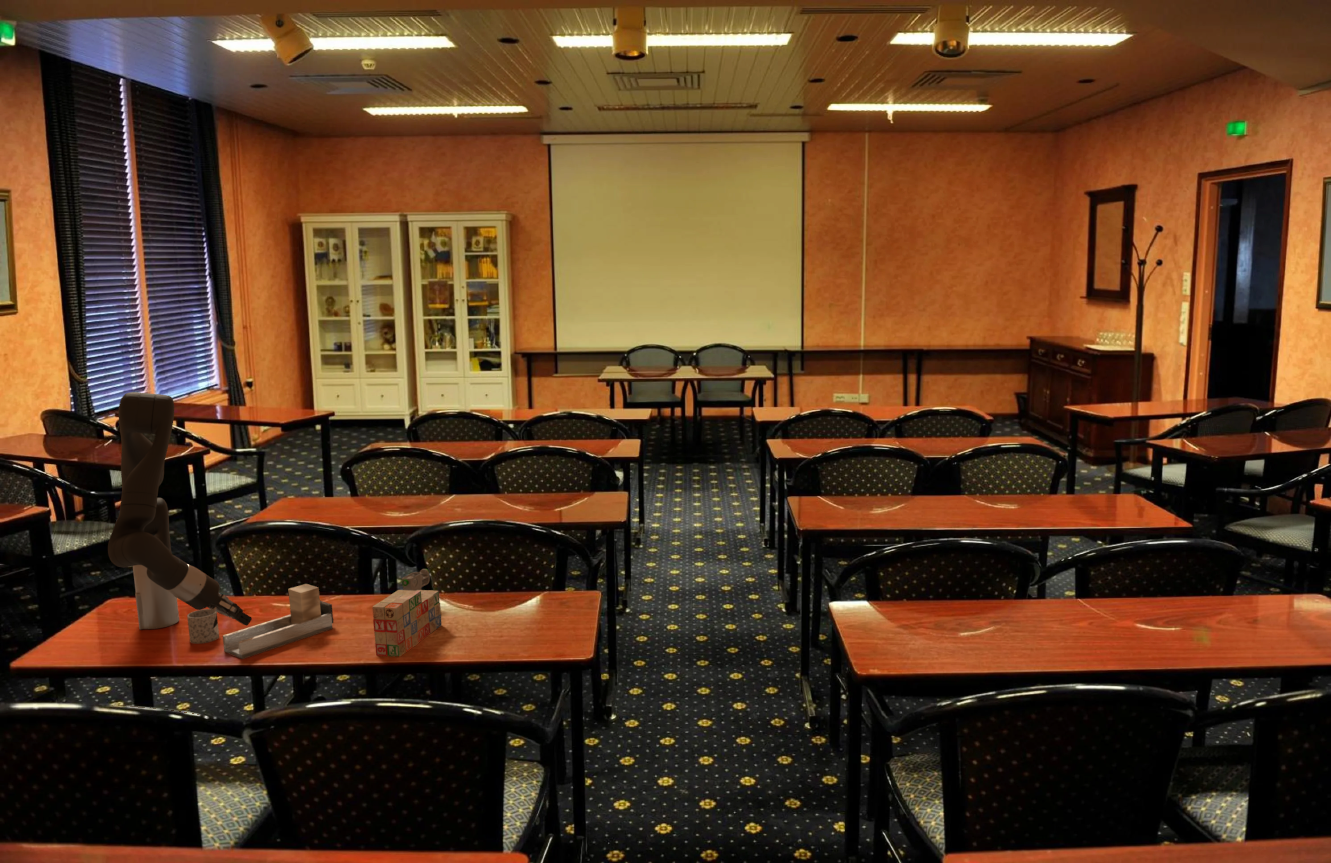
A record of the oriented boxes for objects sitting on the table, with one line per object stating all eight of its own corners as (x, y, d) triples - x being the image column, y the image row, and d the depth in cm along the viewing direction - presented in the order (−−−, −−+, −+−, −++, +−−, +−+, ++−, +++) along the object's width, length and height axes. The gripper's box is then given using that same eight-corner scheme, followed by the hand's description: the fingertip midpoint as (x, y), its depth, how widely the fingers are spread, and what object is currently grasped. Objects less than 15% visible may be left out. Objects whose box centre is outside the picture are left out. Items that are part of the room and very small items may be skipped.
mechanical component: (433, 603, 264) (431, 568, 262) (412, 616, 254) (409, 579, 253) (424, 602, 265) (421, 567, 263) (402, 615, 255) (399, 578, 254)
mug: (222, 639, 242) (219, 613, 241) (193, 645, 238) (190, 620, 237) (212, 628, 250) (209, 603, 249) (184, 634, 246) (181, 609, 245)
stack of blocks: (419, 624, 249) (416, 577, 247) (442, 625, 247) (439, 579, 245) (375, 655, 228) (371, 605, 227) (399, 657, 227) (395, 607, 225)
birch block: (304, 631, 242) (300, 592, 241) (291, 626, 246) (288, 588, 244) (321, 625, 246) (318, 587, 245) (309, 621, 250) (306, 583, 248)
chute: (242, 659, 229) (239, 634, 228) (224, 651, 234) (221, 627, 233) (336, 627, 248) (334, 605, 247) (317, 621, 253) (315, 598, 252)
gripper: (216, 577, 220) (272, 613, 231) (188, 567, 228) (243, 602, 239) (195, 606, 217) (253, 641, 228) (168, 595, 225) (224, 629, 236)
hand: (248, 621), depth 234 cm, fingers closed
